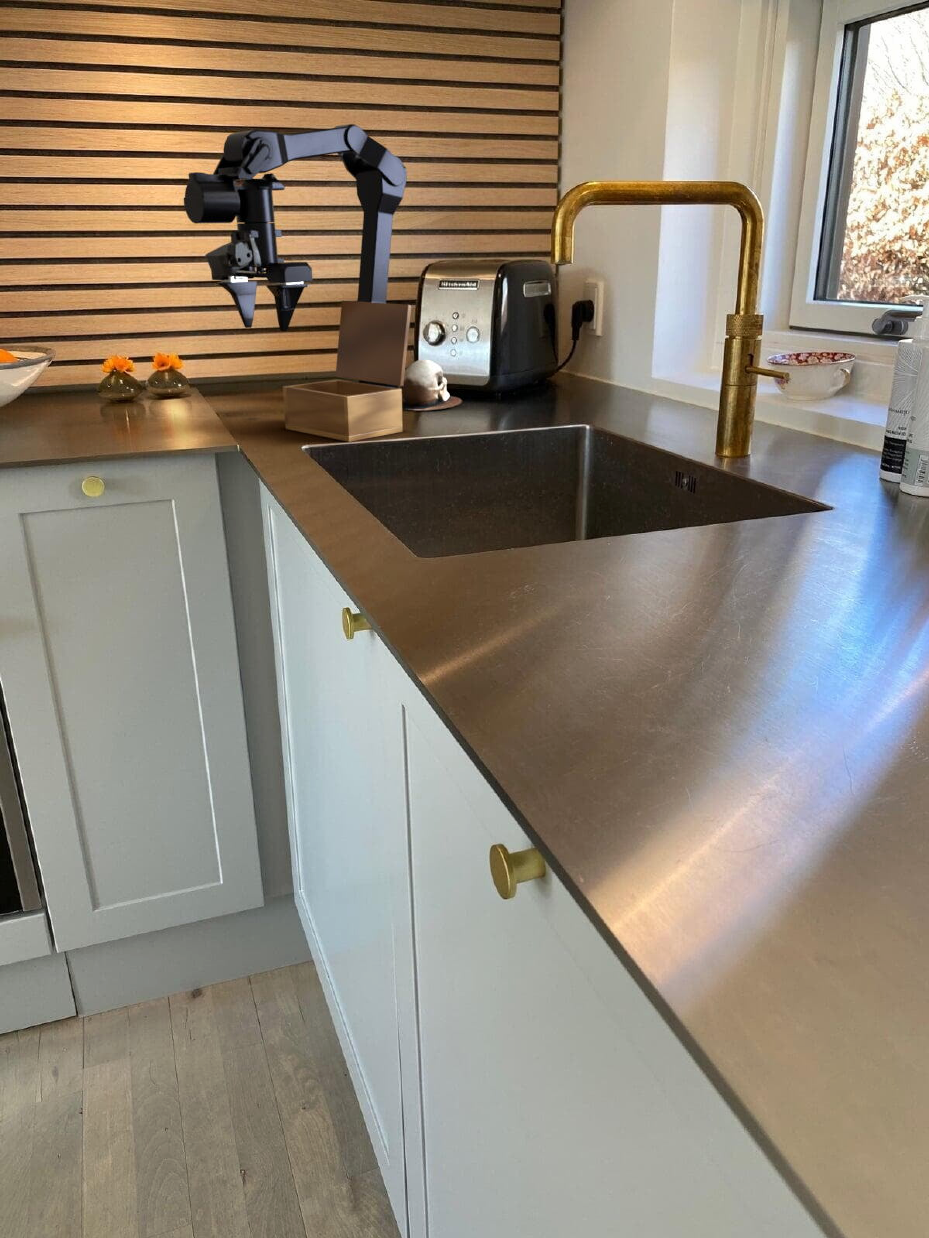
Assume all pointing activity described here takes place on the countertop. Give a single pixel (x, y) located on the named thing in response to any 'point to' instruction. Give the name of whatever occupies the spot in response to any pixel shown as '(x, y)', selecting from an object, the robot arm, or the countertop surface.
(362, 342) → the lid
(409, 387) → the skull
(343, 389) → the chest
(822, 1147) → the countertop surface
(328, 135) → the robot arm
